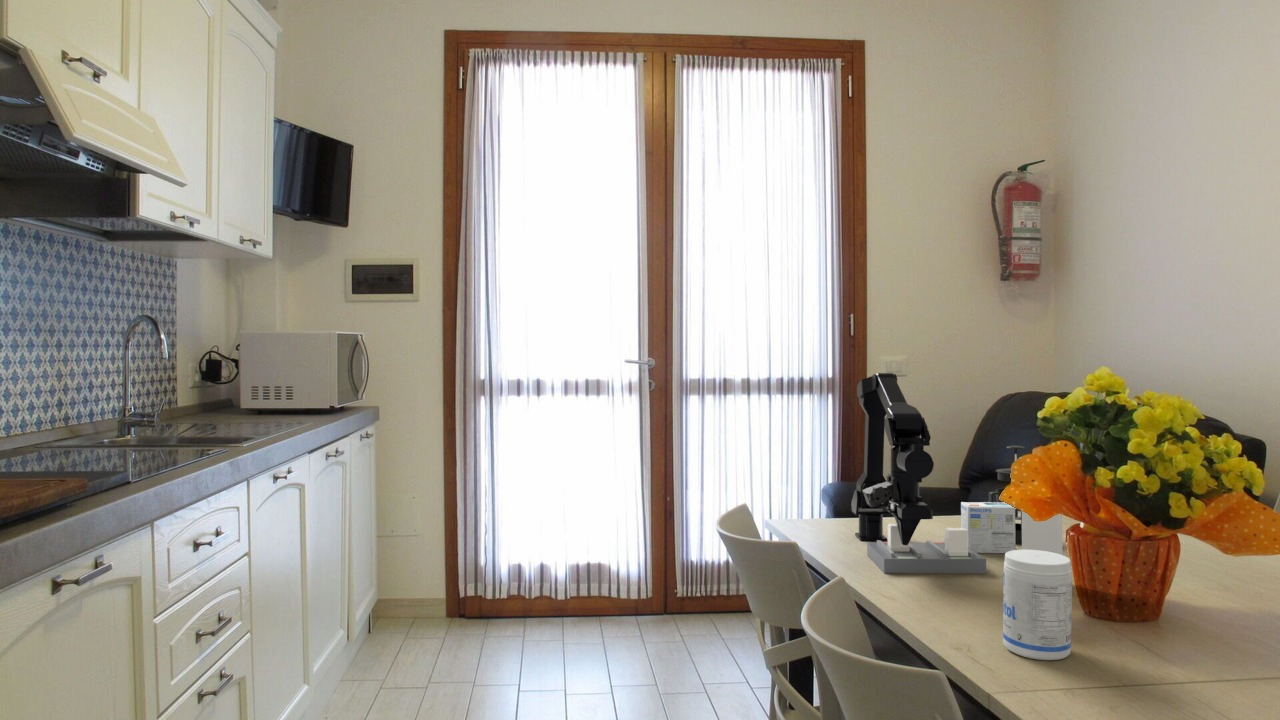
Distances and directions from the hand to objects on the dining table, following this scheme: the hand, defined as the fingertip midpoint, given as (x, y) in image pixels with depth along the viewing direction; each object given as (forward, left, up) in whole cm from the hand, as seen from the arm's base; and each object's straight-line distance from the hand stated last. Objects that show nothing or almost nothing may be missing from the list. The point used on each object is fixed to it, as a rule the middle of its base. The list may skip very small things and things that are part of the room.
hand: (904, 544), depth 176 cm
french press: (-28, +34, -6) cm, 44 cm away
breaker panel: (-5, +5, -5) cm, 9 cm away
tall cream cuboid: (-1, +11, -2) cm, 11 cm away
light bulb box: (-18, +24, -6) cm, 30 cm away
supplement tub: (+47, +7, -6) cm, 48 cm away
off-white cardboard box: (+10, +24, -6) cm, 27 cm away
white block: (-5, 0, -2) cm, 5 cm away
